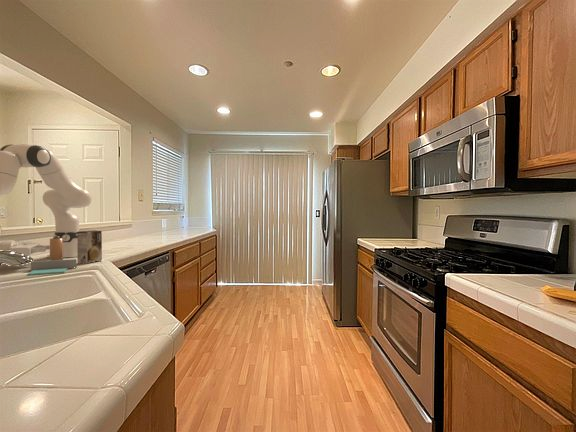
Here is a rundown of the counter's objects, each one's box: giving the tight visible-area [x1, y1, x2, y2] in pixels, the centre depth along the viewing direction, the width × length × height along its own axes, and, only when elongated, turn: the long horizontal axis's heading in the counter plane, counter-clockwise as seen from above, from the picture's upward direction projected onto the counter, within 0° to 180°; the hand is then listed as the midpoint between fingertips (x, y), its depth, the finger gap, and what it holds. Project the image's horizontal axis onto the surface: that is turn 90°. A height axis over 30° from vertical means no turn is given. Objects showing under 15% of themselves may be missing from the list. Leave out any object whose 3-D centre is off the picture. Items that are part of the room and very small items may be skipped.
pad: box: [27, 268, 68, 276], centre depth 129 cm, size 9×12×1 cm
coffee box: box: [76, 229, 103, 264], centre depth 155 cm, size 9×6×16 cm
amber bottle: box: [49, 236, 64, 261], centre depth 144 cm, size 5×5×14 cm
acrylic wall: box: [30, 258, 77, 272], centre depth 135 cm, size 1×16×4 cm, turn 119°
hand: (47, 248), depth 143 cm, fingers open, 8 cm apart
